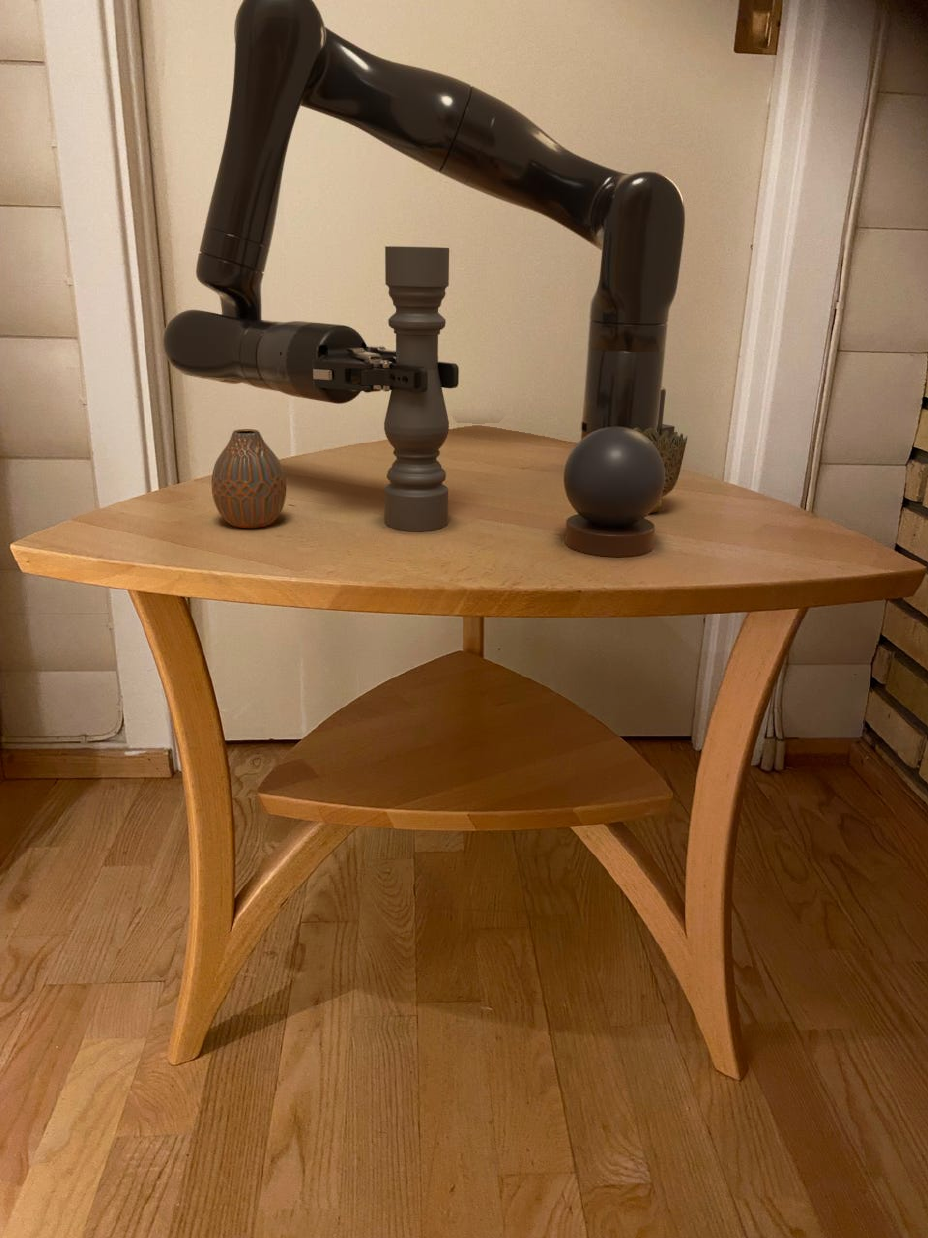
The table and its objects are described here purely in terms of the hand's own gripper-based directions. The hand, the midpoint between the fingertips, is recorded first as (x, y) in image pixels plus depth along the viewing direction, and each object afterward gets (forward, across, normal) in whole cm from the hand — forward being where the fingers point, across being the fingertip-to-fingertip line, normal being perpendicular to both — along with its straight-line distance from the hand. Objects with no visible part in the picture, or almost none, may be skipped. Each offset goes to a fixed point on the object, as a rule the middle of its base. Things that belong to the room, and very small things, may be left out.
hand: (440, 378), depth 87 cm
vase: (-14, -11, +14) cm, 23 cm away
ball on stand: (+15, +7, +14) cm, 21 cm away
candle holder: (-3, 0, +14) cm, 14 cm away
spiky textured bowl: (+11, +20, +14) cm, 27 cm away
